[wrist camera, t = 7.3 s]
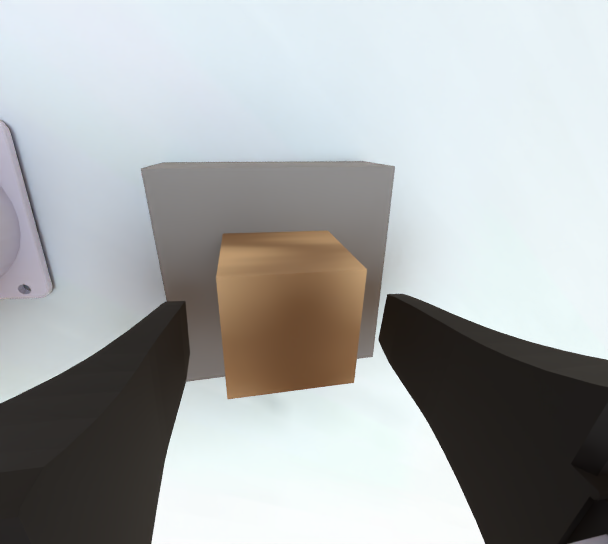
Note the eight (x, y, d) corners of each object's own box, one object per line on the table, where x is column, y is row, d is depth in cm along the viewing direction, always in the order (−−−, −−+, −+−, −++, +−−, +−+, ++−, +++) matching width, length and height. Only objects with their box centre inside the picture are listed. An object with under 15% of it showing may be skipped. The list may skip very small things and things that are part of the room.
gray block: (193, 335, 19) (182, 382, 15) (164, 162, 15) (140, 168, 11) (348, 318, 20) (372, 356, 17) (360, 161, 16) (395, 166, 13)
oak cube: (230, 326, 14) (227, 399, 10) (222, 233, 13) (215, 277, 8) (322, 318, 15) (353, 382, 11) (327, 230, 13) (367, 269, 9)
